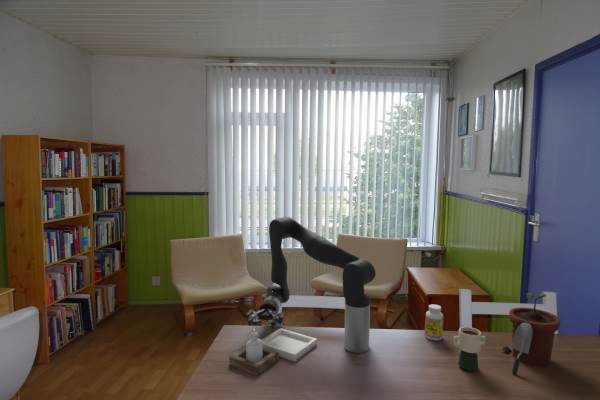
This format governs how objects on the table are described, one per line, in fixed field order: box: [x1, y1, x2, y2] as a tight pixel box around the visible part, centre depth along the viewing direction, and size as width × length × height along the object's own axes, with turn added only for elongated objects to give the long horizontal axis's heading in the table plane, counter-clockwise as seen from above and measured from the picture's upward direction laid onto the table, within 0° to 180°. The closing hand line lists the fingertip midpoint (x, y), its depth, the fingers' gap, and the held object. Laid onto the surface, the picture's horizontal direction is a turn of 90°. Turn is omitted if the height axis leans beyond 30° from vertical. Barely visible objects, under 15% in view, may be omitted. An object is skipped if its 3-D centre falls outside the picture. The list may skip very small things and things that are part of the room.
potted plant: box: [502, 292, 562, 375], centre depth 141 cm, size 18×22×25 cm
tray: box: [261, 328, 318, 362], centre depth 151 cm, size 15×17×2 cm
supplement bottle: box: [424, 303, 444, 341], centre depth 159 cm, size 7×7×13 cm
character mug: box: [452, 326, 487, 372], centre depth 136 cm, size 11×7×13 cm, turn 91°
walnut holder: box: [228, 346, 279, 376], centre depth 139 cm, size 12×12×3 cm
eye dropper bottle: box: [245, 328, 263, 363], centre depth 138 cm, size 4×6×12 cm
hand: (261, 324), depth 149 cm, fingers open, 8 cm apart
